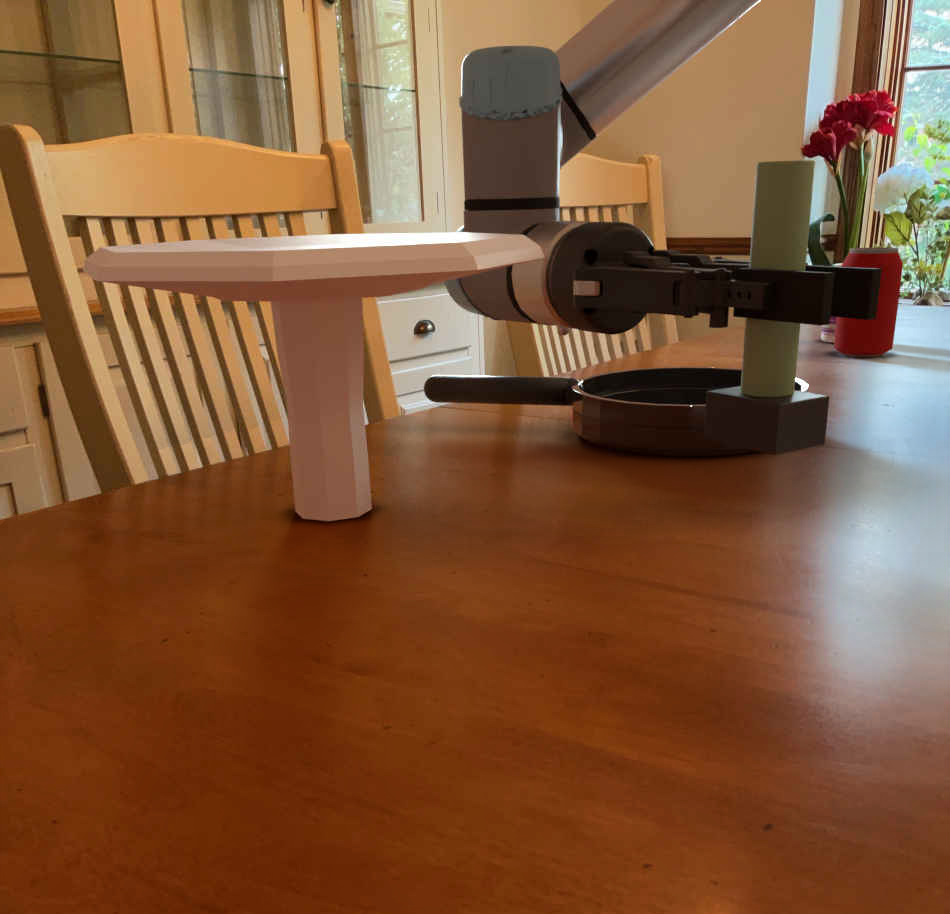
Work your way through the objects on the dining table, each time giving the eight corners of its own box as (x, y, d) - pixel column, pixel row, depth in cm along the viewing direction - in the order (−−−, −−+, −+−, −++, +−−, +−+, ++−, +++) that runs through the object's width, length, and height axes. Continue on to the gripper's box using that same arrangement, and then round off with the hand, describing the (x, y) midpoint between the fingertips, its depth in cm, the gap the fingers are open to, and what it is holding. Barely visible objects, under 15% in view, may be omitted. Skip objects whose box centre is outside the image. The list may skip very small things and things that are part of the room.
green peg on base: (703, 438, 66) (719, 163, 60) (752, 429, 69) (773, 163, 62) (774, 455, 62) (800, 159, 56) (825, 445, 64) (855, 158, 58)
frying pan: (804, 413, 94) (808, 368, 92) (802, 463, 77) (808, 409, 75) (594, 408, 99) (594, 365, 98) (549, 453, 82) (549, 402, 81)
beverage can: (896, 351, 127) (909, 247, 122) (885, 359, 122) (899, 250, 117) (839, 349, 130) (850, 247, 126) (826, 356, 125) (837, 250, 120)
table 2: (35, 518, 69) (-18, 250, 63) (362, 444, 87) (347, 231, 81) (284, 622, 51) (245, 258, 44) (633, 502, 69) (641, 231, 62)
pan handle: (585, 403, 91) (586, 375, 90) (580, 408, 89) (580, 379, 88) (429, 399, 95) (428, 372, 94) (420, 404, 93) (419, 376, 92)
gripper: (669, 321, 81) (934, 352, 63) (495, 340, 73) (740, 381, 55) (673, 218, 78) (953, 218, 60) (493, 225, 70) (751, 229, 52)
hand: (850, 296), depth 57 cm, fingers closed on green peg on base, 3 cm apart
